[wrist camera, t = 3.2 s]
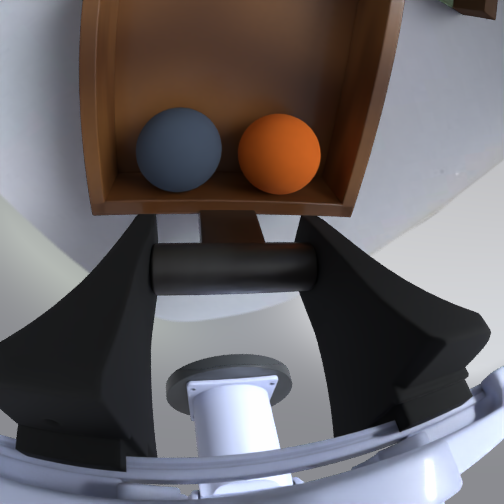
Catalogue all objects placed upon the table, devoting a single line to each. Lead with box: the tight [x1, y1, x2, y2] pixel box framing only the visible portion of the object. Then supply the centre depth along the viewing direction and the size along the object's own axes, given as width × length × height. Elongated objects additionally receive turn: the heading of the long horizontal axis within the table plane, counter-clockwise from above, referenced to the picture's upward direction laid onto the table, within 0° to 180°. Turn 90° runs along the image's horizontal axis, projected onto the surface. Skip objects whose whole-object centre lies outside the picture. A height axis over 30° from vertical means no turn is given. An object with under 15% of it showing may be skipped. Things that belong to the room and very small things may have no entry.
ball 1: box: [136, 107, 222, 192], centre depth 10 cm, size 3×3×3 cm
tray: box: [79, 0, 405, 295], centre depth 8 cm, size 11×10×6 cm
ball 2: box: [238, 114, 321, 195], centre depth 11 cm, size 3×3×3 cm
